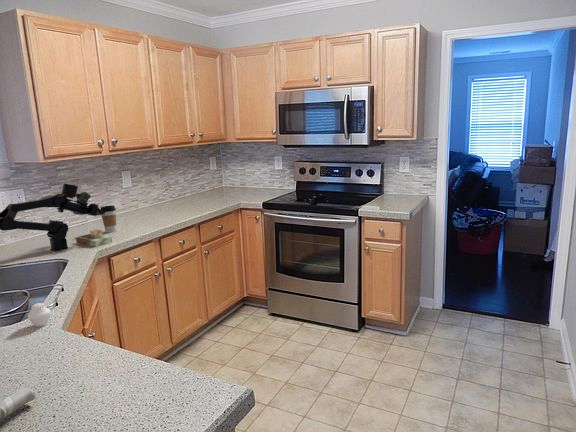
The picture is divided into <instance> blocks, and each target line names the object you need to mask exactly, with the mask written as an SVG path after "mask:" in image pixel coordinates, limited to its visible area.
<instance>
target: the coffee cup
mask: <svg viewBox="0 0 576 432" xmlns="http://www.w3.org/2000/svg"><path fill="white" fill-rule="evenodd" d="M100 209H101V210H102V211H104V212H105V214H102V215H100V216H101V219H102V224H103V226H104V230H105V233H107V234H109V233H115V232H117V214H116V210H117V209H116V206H115V205H105V206H104V205H103V206H100Z"/></svg>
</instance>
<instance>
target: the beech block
mask: <svg viewBox="0 0 576 432" xmlns="http://www.w3.org/2000/svg"><path fill="white" fill-rule="evenodd" d="M89 234H91V238H92V239H98V238H101V237H103V236H102V235H103V230H102V229H100V228H99V229H98V228H96V229H92V230H90V231H89Z"/></svg>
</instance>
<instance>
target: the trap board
mask: <svg viewBox="0 0 576 432" xmlns="http://www.w3.org/2000/svg"><path fill="white" fill-rule="evenodd" d="M102 236H103V237H101V238H98V239H92V238H91V234H90V233H87V234H84V235H81V236H76V237H75V241H76V244H81V245H86V246H91V247H96V248H97V247H98V248H99V247H102V246H104V245H108V244H111V243H113V238H112V236H109V235H103V234H102Z"/></svg>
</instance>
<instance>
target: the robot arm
mask: <svg viewBox="0 0 576 432" xmlns="http://www.w3.org/2000/svg"><path fill="white" fill-rule="evenodd" d="M78 189H79V186H78V185H75V184H70V183H63V186H62V191H61V193H57V194H54V195H53V194H50V195H47V196H42V197H41V198H39V199H35V200H28V201H23V202H16V203H9V204H7V206H6V207H5V209H3V210H2V211H0V231H3V232H5V231H13V230H30V231H41V232H43V231H44V232H45V231H46V232H47V233H46V235H47V237H48V238H49V242H50V243H49V244H50V248H49V251H53V252H59V251H63V250H67V249H69V248H70V247H69V246H68V241H67V238H66V237H67V233H68V231H69V225H68V224H67V223H65V222H64V221H62V220H51V219H49V221H48V222H37V221H26V220H25V221H24V220H16V217H17V214H18V213H20V212H23V211H29V210H30V211H31V210H35V209H40V208H56V210H57V212H58V213H60V214H61V213H62V214H63V213H64V211H69V212H71V213H73V215H76V216H77V215H78V216H84V215H88V216H92V217H96V216H101V215H102V214H105V212H104V211H102V210H101V208H99V204H98V203H94V202H93V203H90V204H89V202H88V201H89V200H90V198H91V197H92V195H91V194H89V192H88V191H82V192H80V193H78ZM74 198H76V200H74ZM88 204H89V205H88Z"/></svg>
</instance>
